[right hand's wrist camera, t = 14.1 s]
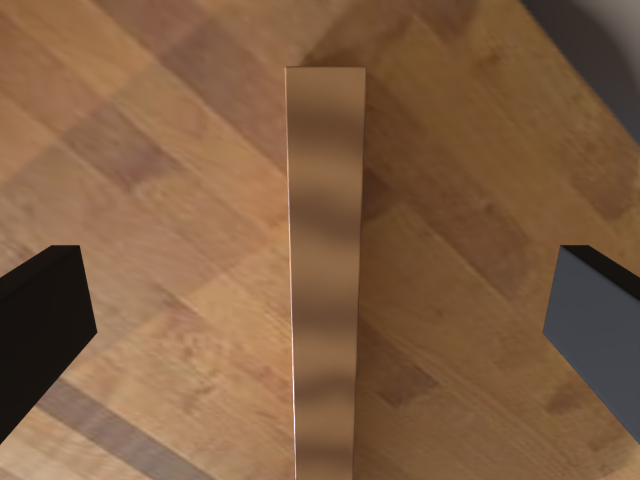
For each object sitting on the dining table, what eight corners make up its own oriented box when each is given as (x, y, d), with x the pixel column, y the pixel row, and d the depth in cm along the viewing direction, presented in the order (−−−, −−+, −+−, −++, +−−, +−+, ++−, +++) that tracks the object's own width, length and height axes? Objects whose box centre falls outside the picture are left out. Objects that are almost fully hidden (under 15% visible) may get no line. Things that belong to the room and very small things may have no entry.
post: (294, 68, 33) (284, 66, 26) (358, 68, 33) (366, 66, 25) (304, 585, 53) (300, 666, 46) (344, 586, 53) (346, 667, 45)
